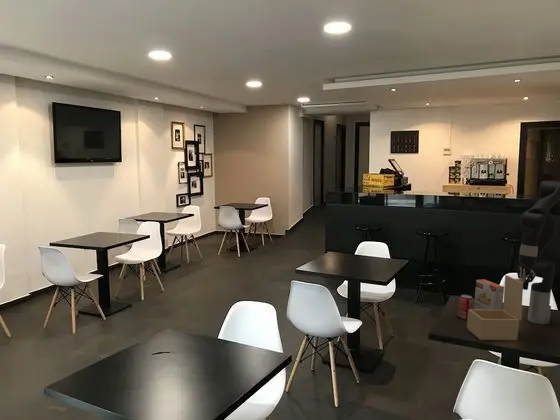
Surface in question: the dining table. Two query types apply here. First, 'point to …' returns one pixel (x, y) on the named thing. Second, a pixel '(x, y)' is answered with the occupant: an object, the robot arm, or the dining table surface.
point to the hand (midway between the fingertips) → (523, 288)
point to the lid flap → (513, 296)
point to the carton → (492, 324)
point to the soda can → (465, 306)
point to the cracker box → (488, 295)
